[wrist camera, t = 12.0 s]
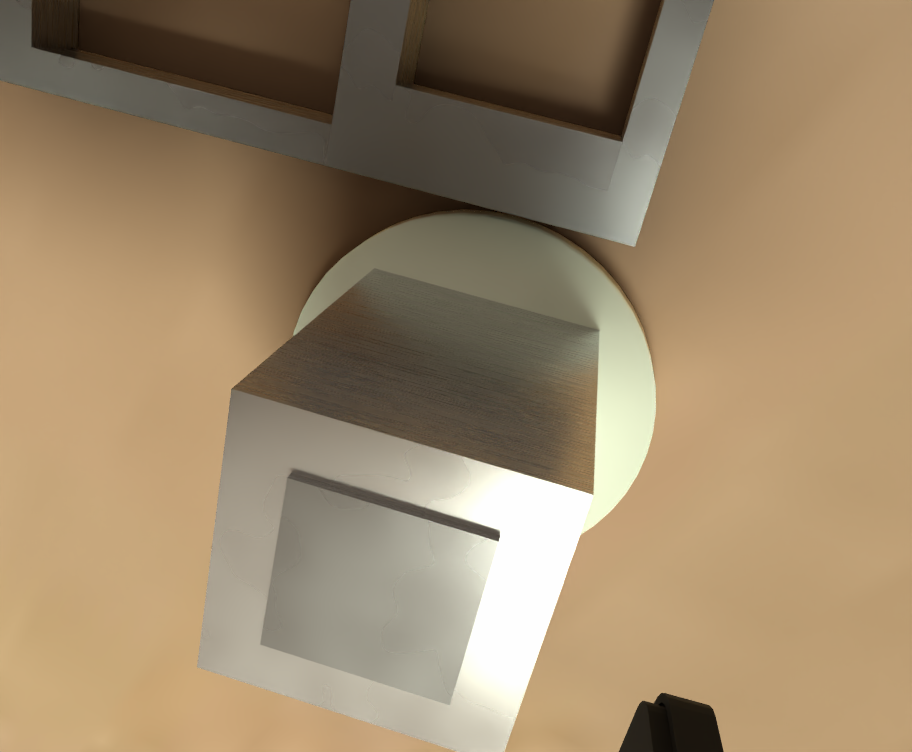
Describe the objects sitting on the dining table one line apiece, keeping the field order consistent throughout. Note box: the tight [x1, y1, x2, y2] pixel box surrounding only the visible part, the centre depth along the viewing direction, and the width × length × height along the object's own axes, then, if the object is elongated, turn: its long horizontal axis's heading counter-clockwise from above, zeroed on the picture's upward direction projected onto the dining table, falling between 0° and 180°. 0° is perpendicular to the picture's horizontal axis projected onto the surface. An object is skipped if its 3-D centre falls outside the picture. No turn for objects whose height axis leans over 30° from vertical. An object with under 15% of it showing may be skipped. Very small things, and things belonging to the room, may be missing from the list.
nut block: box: [197, 268, 600, 752], centre depth 14 cm, size 5×5×7 cm
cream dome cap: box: [293, 210, 656, 535], centre depth 18 cm, size 8×8×1 cm
